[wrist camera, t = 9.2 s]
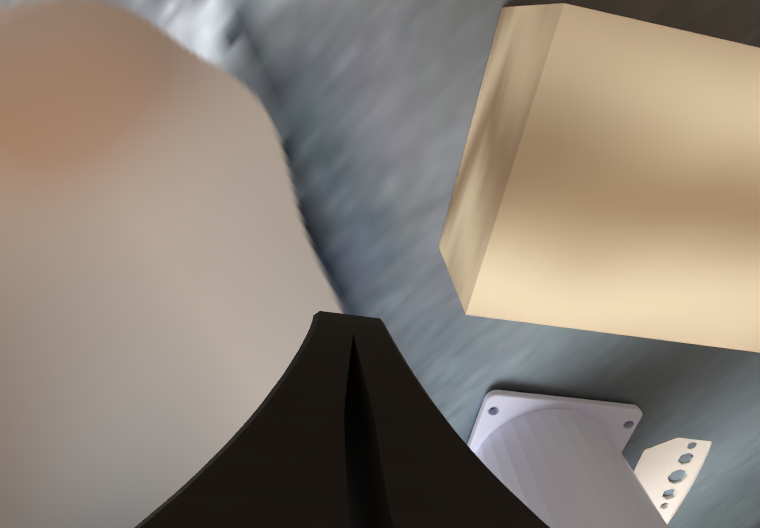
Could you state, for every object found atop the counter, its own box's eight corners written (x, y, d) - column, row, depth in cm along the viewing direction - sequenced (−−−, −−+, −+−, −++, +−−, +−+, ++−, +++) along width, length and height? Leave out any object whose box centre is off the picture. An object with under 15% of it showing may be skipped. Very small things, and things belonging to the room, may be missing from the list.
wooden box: (744, 291, 21) (850, 364, 17) (438, 246, 19) (465, 314, 15) (867, 88, 17) (1045, 113, 13) (502, 7, 16) (564, 3, 11)
